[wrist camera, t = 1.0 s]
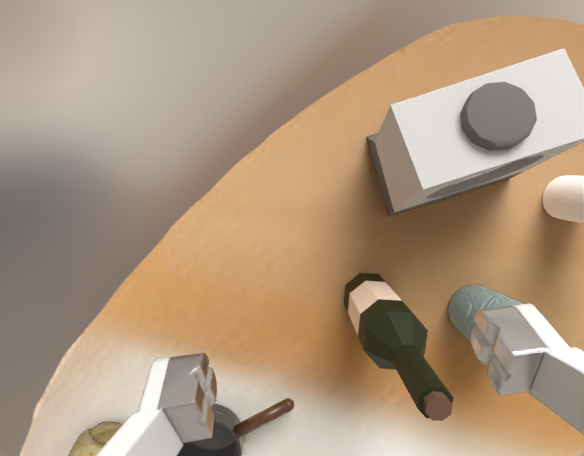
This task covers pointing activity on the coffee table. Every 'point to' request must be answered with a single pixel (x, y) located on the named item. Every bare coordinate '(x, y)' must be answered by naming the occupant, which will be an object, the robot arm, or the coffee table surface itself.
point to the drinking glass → (474, 306)
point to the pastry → (94, 439)
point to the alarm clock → (478, 131)
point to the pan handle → (263, 417)
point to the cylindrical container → (565, 198)
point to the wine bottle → (396, 341)
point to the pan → (217, 437)
